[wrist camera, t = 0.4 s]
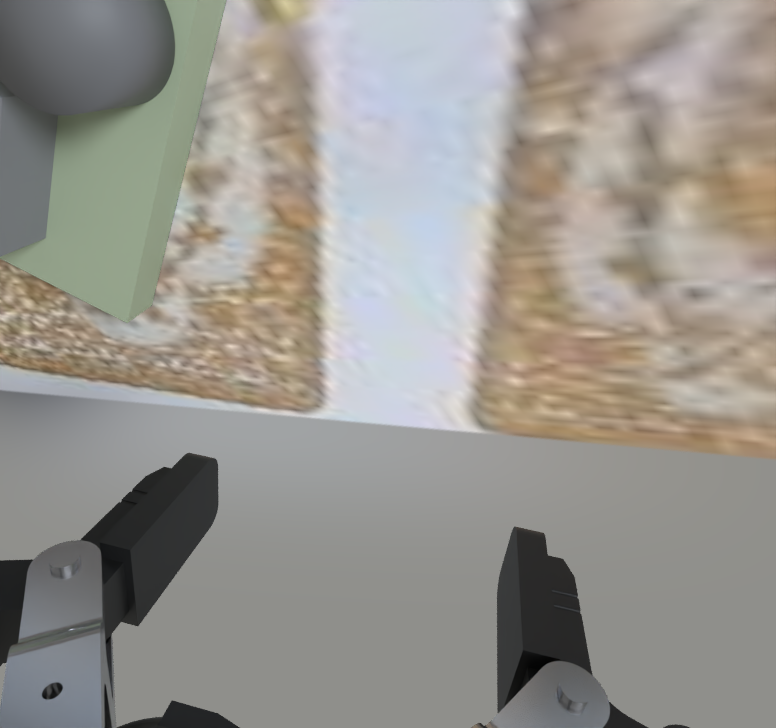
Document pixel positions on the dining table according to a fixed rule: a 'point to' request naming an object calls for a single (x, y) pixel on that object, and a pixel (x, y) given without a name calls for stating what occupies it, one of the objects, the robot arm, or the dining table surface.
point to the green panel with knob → (98, 138)
